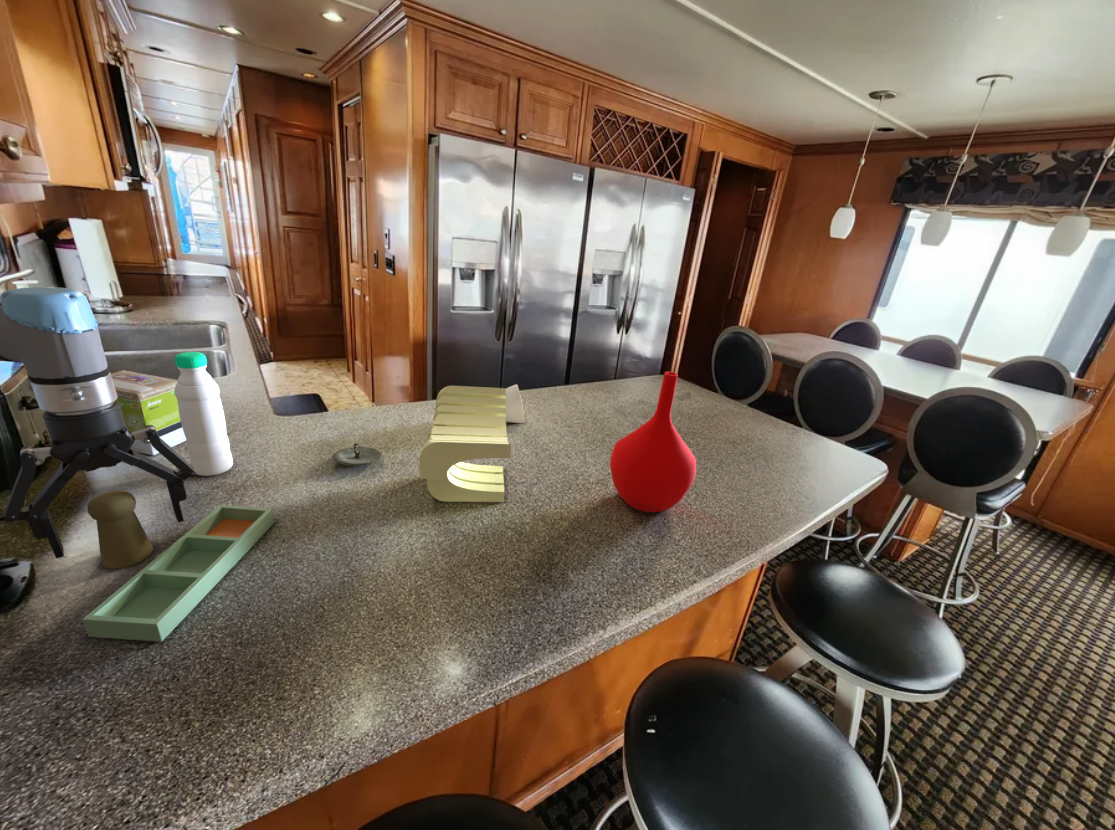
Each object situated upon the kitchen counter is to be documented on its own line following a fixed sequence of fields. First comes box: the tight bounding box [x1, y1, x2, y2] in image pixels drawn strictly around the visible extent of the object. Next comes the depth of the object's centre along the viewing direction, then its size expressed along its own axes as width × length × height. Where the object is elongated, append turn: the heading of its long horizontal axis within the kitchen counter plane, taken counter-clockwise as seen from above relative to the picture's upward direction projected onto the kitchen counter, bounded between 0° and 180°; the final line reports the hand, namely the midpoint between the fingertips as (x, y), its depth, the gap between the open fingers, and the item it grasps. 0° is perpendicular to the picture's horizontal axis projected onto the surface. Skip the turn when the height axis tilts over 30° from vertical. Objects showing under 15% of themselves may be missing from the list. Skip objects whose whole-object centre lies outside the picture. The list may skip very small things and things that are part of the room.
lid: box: [331, 443, 383, 467], centre depth 104 cm, size 11×10×5 cm
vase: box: [609, 371, 697, 514], centre depth 97 cm, size 18×18×30 cm
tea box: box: [110, 369, 187, 456], centre depth 101 cm, size 15×10×15 cm, turn 81°
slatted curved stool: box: [418, 385, 512, 503], centre depth 97 cm, size 30×16×18 cm, turn 8°
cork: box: [87, 489, 154, 570], centre depth 70 cm, size 6×6×11 cm
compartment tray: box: [81, 504, 275, 643], centre depth 70 cm, size 9×26×3 cm, turn 1°
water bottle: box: [174, 351, 234, 477], centre depth 92 cm, size 7×7×25 cm
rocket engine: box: [505, 383, 525, 424], centre depth 133 cm, size 12×12×18 cm
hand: (123, 534), depth 70 cm, fingers open, 13 cm apart
